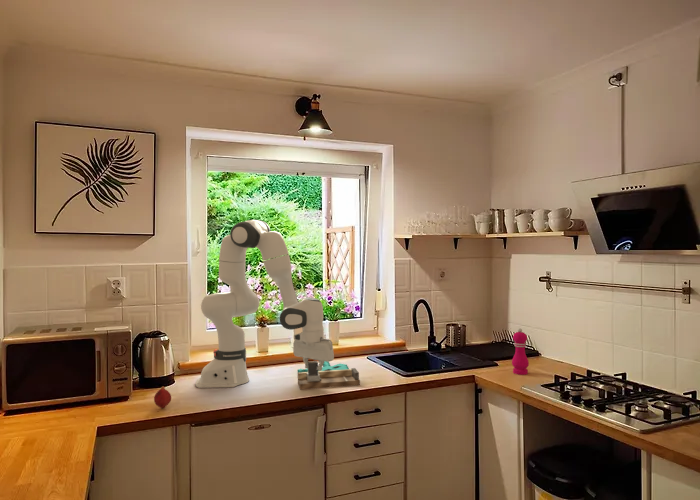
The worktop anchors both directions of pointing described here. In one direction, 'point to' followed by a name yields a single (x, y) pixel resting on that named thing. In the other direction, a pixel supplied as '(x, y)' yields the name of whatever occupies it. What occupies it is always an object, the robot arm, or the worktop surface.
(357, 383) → the wooden slatted tray
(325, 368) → the alien figure
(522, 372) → the pepper mill
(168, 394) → the onion
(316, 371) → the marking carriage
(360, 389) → the worktop surface
